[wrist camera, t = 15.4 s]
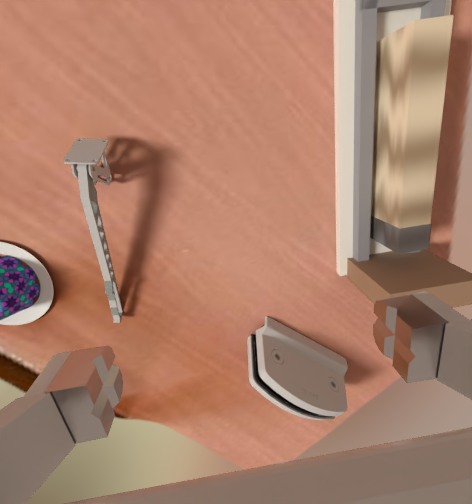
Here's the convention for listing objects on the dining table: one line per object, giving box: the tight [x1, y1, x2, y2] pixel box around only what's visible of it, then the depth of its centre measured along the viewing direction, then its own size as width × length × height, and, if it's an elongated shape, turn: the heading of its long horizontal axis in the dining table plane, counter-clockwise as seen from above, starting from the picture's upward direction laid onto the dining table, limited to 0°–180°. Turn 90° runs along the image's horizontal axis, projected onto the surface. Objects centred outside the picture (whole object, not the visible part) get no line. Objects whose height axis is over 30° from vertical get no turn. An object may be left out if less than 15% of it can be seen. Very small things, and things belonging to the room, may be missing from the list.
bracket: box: [63, 138, 123, 323], centre depth 35 cm, size 3×21×10 cm, turn 177°
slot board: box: [333, 0, 472, 308], centre depth 31 cm, size 32×12×11 cm, turn 8°
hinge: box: [247, 316, 348, 420], centre depth 43 cm, size 17×5×10 cm, turn 56°
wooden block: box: [370, 15, 453, 254], centre depth 32 cm, size 22×4×6 cm, turn 8°
